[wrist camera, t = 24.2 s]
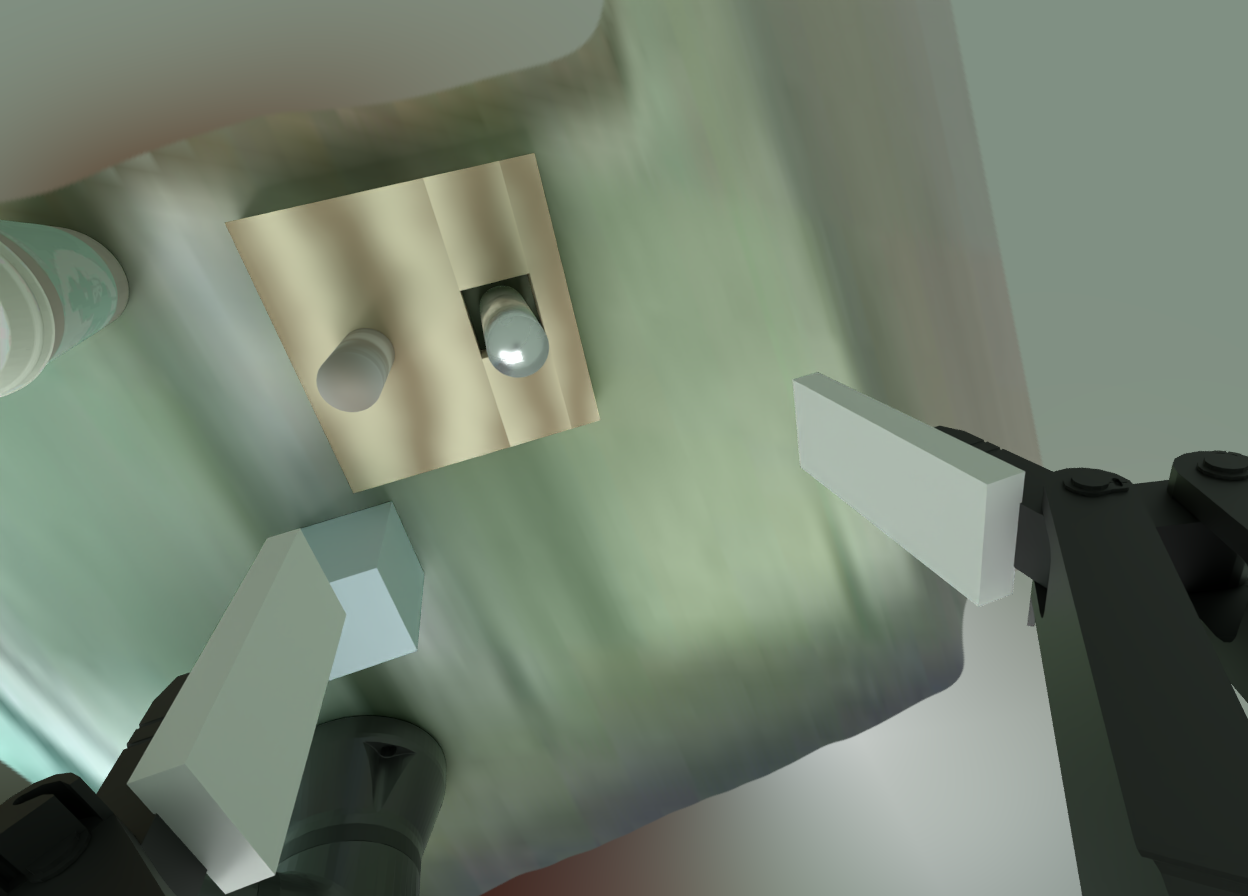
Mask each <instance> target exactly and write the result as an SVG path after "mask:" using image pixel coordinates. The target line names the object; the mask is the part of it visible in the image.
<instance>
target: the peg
mask: <svg viewBox="0 0 1248 896" xmlns="http://www.w3.org/2000/svg"><path fill="white" fill-rule="evenodd" d="M479 310H480V316H481V322H482V327H483V333H484V339H485V344H486V350H487V355H488V358H489V360H490V362H491V364H492V365H493V366H494V367H495V368H496V369H497V370H498V371H499V372H501V373H502V374H504V375H507V376H510V377H515V378H521V377H527V376H530V375H532V374H534V373H535V372H537V371H538V370H539V369H540V368H541V367H542V366H543V365H544V363H545V362H546V360H547V357H548V353H549V341H548V338H547V335H546V333H545V331H544V330H543V328H542V327H541V325H540V323H539V322H538V320H537V319H536V317H535V316H534V314H533V313H532V311H531V310H530V308H529V306H528V305H527V303H526V302H525V300H524V299H523V297H522V296H521V294H520V293H519V292H518V291H516V290H515V289H513V288H511V287H509V286H495V287H493V288H491V289H489V290H488V291H487V292H485V294H484V295H483V296H482V298H481V301H480V306H479Z"/></svg>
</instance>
